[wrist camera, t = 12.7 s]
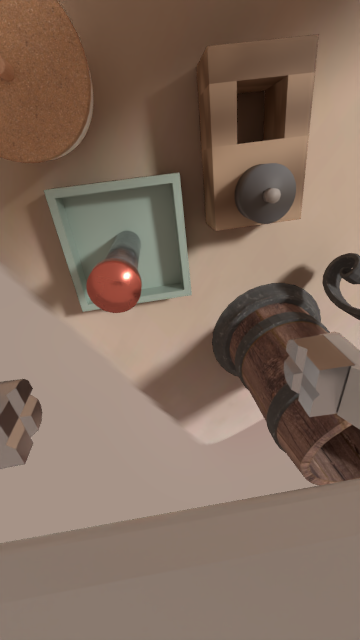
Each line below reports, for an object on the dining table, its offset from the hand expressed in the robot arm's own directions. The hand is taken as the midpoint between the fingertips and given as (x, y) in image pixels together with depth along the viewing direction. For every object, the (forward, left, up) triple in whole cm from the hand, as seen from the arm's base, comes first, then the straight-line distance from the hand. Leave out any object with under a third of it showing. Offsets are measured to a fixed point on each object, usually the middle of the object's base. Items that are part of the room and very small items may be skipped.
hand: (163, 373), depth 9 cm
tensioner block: (-6, +11, -27) cm, 30 cm away
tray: (+2, -3, -27) cm, 27 cm away
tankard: (+15, +17, -27) cm, 35 cm away
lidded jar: (-12, -8, -27) cm, 31 cm away
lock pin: (+2, -3, -26) cm, 26 cm away
